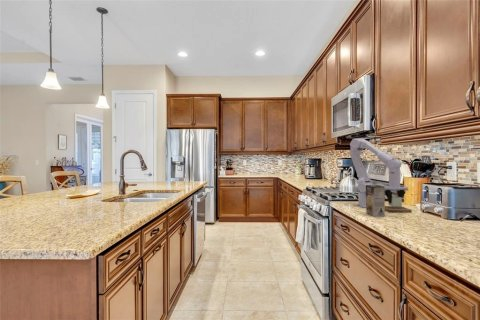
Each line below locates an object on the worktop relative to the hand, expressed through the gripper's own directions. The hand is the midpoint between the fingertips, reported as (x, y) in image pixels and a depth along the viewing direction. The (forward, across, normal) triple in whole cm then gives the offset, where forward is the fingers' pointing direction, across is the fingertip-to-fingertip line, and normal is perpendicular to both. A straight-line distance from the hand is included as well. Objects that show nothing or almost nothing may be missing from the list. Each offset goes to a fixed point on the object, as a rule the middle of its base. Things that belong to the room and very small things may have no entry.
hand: (394, 202), depth 153 cm
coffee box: (+5, -16, -11) cm, 20 cm away
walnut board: (+4, 0, 0) cm, 4 cm away
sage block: (+1, 0, 0) cm, 1 cm away
